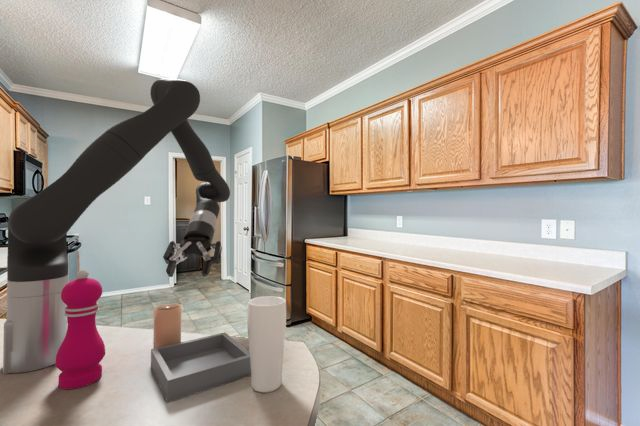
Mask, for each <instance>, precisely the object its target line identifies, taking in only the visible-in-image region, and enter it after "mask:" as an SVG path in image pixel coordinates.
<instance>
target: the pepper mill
mask: <svg viewBox="0 0 640 426" xmlns="http://www.w3.org/2000/svg"><path fill="white" fill-rule="evenodd" d="M76 278H77V279H73V280H71V281H68V283H67V284H66V285H65V286H64V288H63V289H62V292H61V299H62V301H63V302H64V303H65V304H66V305H67V307H65V309H64V310H65V314H64V315H65V316H67V333H66V336H65V338H64V340H63V342H62V344H61V346H60V348H59V350H58V352H57V355H56V361H55V364H54V366H55V367H56V368H57V369H58V371H60V374H59V375H58V384H57V385H58V387H59V388H60V389H63V390H73V389H79V388H83V387H86V386H89V385H92V384H93V383H95V382H97V381H98V380H99V379H101V377H102V375H103V365H102V364H101V361H102V360H103V359H104V357H105V355H106V344H105V343H104V340H103V338H102V337H101V335H100V333H99V331H98V328H97V325H96V323H97V322H96V315H97V313H98V312H99V310H100V308H99V306H100V304H99V302H98V301H99V299H101V297H102V295H103V286H102V284H101V282H100V281H99V280H97V279H94V278H91V277H89V271H87V270H86V269H81V270H79V271H77V273H76Z"/></svg>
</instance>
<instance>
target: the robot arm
mask: <svg viewBox="0 0 640 426" xmlns="http://www.w3.org/2000/svg"><path fill="white" fill-rule="evenodd" d="M150 99H151V101H152V104H153V105H152V106H151V107H150V108H148V109H146V110H145V111H143V112H140V113H138V114H136V115H134V116H132V117H129V118H126V119H125V120H122V121H121V122H119V123H117V124H115V125H113V126H111V127H110V128H108V129H107V130H106V131H104V132H103V133H102V134H101V135H99V137H97V138H96V139H94V141H93V142H91V144H89V145H88V146H87V147H86V148H85V149H84V150H83V151H82V153H80V155H79V156H78V157H77V158H76V159H75V161H73V163H72V164H71V165H70V167H69V168H68V169H67V170H66V171H65V172H64V173H63V174H62V175H61V176H60V177H59V178H58V179H56V180H55V181H53V182H52V183H51V184H49V185H48V186H46V187H44V189H42V190H41V191H40V192H38V193H35V195H33V196H32V197H30V198H29V199H27V200H25V201H22V202H21V203H20V204H19V203H18V205H17V206H15V208H14V209H12V211H11V212H10V214H9V215H8V220H7V221H8V223H7V260H6V261H7V263H6V264H7V265H6V268H7V269H6V270H7V271H6V272H7V276H6V277H7V278H6V279H7V283H6V320H5V321H4V322H3V342H2V343H3V346H2V347H3V350H2V351H3V353H2V356H3V357H2V374H3V375H5V374H11V373H25V372H26V373H27V372H33V371H37V370H41V369H44V368H48V367H50V366H53V365H55V361H56V355H57V352H58V350H59V348H60V346H61V344H62V342H63V340H64V338H65V336H66V333H67V327H68V319H67V316H65V315H64V314H65V310H64V309H65V307H67V305H66V304H65V303H64V302H63V301H62V299H61V292H62V289H63V288H64V286H65V285H66V284H67V283H69V260H68V251H67V247H68V244H67V241H68V240H67V237H68V235H67V233H68V232H69V231H70V230H71V228H72V227H73V226H74V225H75V224H76V222H77V221H78V220H79V218H80V217H81V216H82V215H83V214H84V212H86V210H87V209H88V208H90V206H91V204H93V202H95V201H96V199H98V198H99V197H100V196H101V195H102V194H104V193H105V192H106V191H107V190H109V189H110V188H111V187H112V186H115V184H116V183H118V182H119V181H120V180H121V179H122V178H124V176H126V175H127V174H128V173H130V172H131V171H132V170H133V169H134V168H135V167H136V166H137V165H138V164H139V163H140V162H141V161H142V160H143V159H144V158H145V157H146V155H148V153H149V152H150V151H152V150H153V149H154V148H155V147H156V146H157V145H158V144H159V143H160V142H161V141H162V140H163V139H165V137H167V135H168V134H170V133H171V134H172V135H173V137H174V139H175V140H176V142H177V143H178V146H179V147H180V149H181V151H182V153H183V155H184V157H185V159H186V162H187V163H188V167H189V168H190V170H191V173H192V175H193V177H194V179H195V180H196V181H199V182H202V183H200V184H198V185H197V187H196V188H195V199H196V203H195V207H194V208H195V209H194V211H193V214H192V216H191V217H190V220H189V221H188V225H187V228H186V230H185V234H184V235H183V240H182V241H181V243H176V242H175V241H174V240H171V241H169V244H168V246H167V248H166V250H165V252H164V254H163V256H162V258H163V260H164V262H165V264H167V267H166V269H165V272H166V274H167V276H168V278H169V277H170V278H172V277H173V276H174V273H175V271H176V268H177V265H178V264H179V263H181V262H184V261H185V260H186V259H200V258H203V260H204V263H203V266H202V268H201V269H202V270H201V274H202V277H204V278H206V277H207V276H208V275H209V274H210V272H211V269H212V266H213V264H216V265H219V264H220V262H221V255H222V250H223V247H222V243H221V241H220V240H218V241H216V242H215V243H212V242H213V240H214V235H215V233H216V232H215V231H217V230H216V229H217V221H218V218H219V215H220V214H219V213H220V205H219V203H225V202H227V201H228V200H229V198H230V196H231V190H230V187H229V184H228V183H227V182H226V180H225V179H224V177H223V176H222V175H221V174H220V173H219V171H218V169H217V167H216V166H215V162H214V160H213V157H212V155H211V153H210V151H209V149H208V148H207V146H206V145H205V143H204V141H202V139H201V138H200V137H199V136H198V134H197V133H196V132H195V131H194V129H193V127H192V126H191V124H190V123H189V121H188V119H189V118H190V117H192V116H193V115H194V114H195V113H196V112H197V110H198V108H199V106H200V103H201V95H200V91H199V89H198V88H197V86H196V85H194V83H192V82H190V81H188V80H184V79H180V78H179V79H177V78H167V77H166V78H159V79H156V80H155V81H154V82H153V83H152V85H151V87H150ZM212 249H213V252H214V253H213V256H210V254H209V252H210V251H211V250H212Z"/></svg>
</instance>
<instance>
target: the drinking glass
mask: <svg viewBox="0 0 640 426" xmlns="http://www.w3.org/2000/svg"><path fill="white" fill-rule="evenodd" d="M286 301H287V300H286V299H285V298H284V297H280V296H275V295H273V296H272V295H270V296H269V295H265V296H264V295H263V296H256V297H254V298H251V299H249V300H248V302H247V335H248V336H247V338H248V351H249V352H250V366H251V375H250V386H251V388H252V389H253V390H254V391H256V392H257V393H258V392H259V393H266V394H267V393H271V392H274V391H277V389H279V388H280V387H281V385H282V383H283V377H282V376H283V373H282V372H283V362H284V361H283V360H284V352H285V351H284V349H285V339H286V330H287V302H286Z"/></svg>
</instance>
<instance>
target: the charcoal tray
mask: <svg viewBox="0 0 640 426" xmlns="http://www.w3.org/2000/svg"><path fill="white" fill-rule="evenodd" d="M150 368H151V370H152V373H153V374H154V376H155V379H156V382H158V385H159V387H160V390H161V392H162V393H163V396H164V398H165V400H166V402H167V403H171V402H174V401H178V400H180V399H183V398H186V397H189V396H192V395H195V394H198V393H201V392H205V391H208V390H211V389H214V388H216V387H219V386H222V385H225V384H228V383H232V382H235V381H238V380H241V379H244V378H247V377H251V366H250V352H249V349H247V348H245V347H244V346H243V345H242V344H240V343H239V342H238V341H236V340H235V339H234V338H233V337H231V336H230V335H229V334H227V333H226V332H221V333H217V334H211V335H208V336H203V337H199V338H194V339H190V340H186V341H181V342H180V343H176V344H172V345H167V346H163V347H158V348H154V349H153V348H151V349H150Z"/></svg>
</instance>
